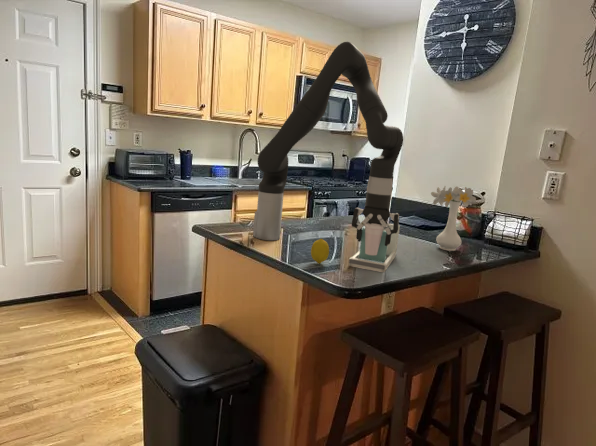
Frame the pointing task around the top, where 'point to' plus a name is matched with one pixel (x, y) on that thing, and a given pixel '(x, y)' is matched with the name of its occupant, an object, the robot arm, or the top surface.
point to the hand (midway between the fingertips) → (372, 243)
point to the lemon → (320, 251)
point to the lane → (376, 266)
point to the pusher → (381, 251)
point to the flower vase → (452, 214)
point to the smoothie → (372, 238)
